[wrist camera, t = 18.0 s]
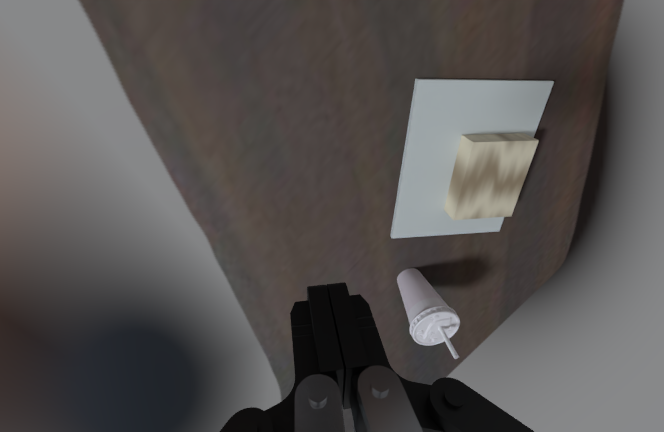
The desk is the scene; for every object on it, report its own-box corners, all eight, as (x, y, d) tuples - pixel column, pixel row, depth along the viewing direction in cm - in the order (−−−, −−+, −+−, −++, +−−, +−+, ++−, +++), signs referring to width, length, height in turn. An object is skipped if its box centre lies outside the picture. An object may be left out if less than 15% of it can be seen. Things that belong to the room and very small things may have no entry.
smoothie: (437, 272, 50) (489, 352, 38) (407, 298, 52) (448, 382, 40) (409, 254, 47) (457, 334, 35) (379, 283, 49) (414, 368, 37)
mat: (415, 78, 34) (417, 79, 34) (550, 80, 37) (554, 81, 36) (390, 235, 45) (391, 238, 44) (496, 228, 47) (499, 231, 47)
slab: (473, 142, 36) (539, 140, 37) (461, 134, 38) (523, 133, 39) (453, 220, 41) (511, 216, 42) (443, 209, 43) (498, 205, 44)
